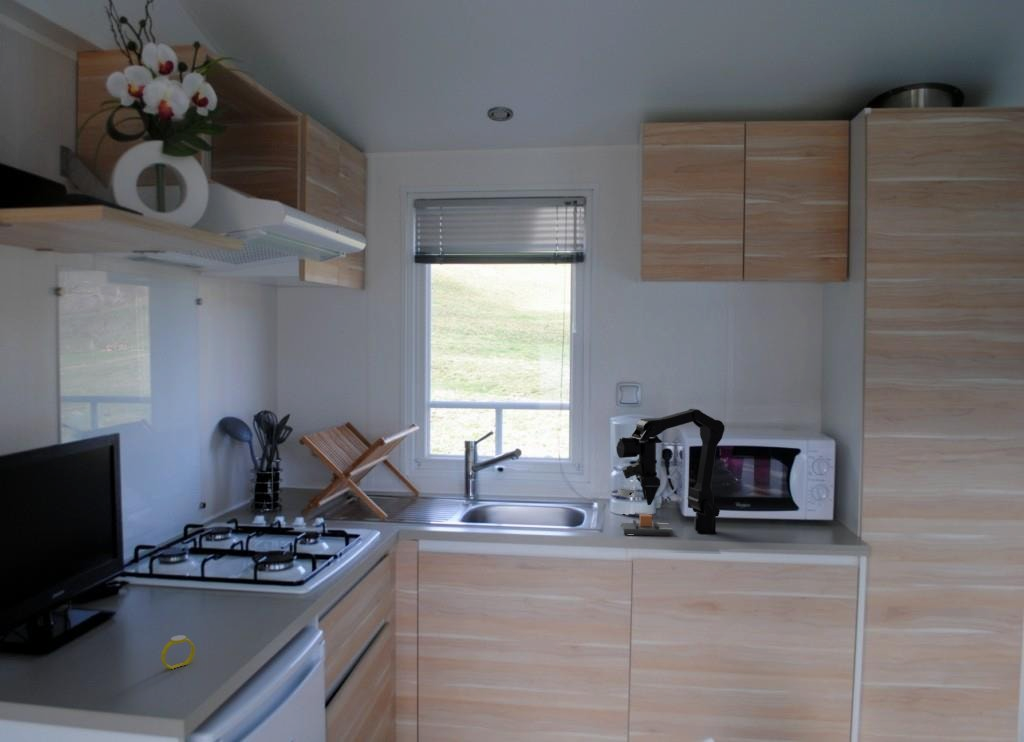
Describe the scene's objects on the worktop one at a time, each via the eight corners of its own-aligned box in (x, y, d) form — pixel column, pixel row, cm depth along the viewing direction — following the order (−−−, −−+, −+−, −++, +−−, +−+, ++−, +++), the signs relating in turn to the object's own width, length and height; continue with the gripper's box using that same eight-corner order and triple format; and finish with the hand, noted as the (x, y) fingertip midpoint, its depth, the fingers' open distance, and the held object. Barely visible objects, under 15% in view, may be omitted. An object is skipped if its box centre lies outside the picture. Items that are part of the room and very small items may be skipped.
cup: (628, 517, 263) (628, 491, 263) (613, 513, 270) (613, 487, 269) (643, 514, 268) (643, 488, 268) (627, 510, 274) (628, 485, 274)
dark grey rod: (669, 535, 238) (669, 531, 238) (670, 536, 236) (670, 532, 236) (623, 534, 238) (623, 531, 238) (624, 535, 237) (624, 532, 237)
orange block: (651, 524, 243) (651, 514, 243) (652, 526, 241) (652, 516, 241) (639, 524, 243) (639, 514, 243) (640, 526, 241) (640, 516, 241)
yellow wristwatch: (190, 661, 141) (192, 632, 141) (195, 666, 139) (197, 636, 139) (159, 668, 137) (161, 638, 137) (163, 673, 135) (165, 642, 135)
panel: (668, 529, 246) (668, 520, 246) (672, 535, 238) (672, 526, 238) (621, 528, 247) (621, 520, 246) (623, 534, 239) (624, 525, 238)
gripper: (621, 452, 245) (621, 495, 246) (625, 460, 226) (626, 508, 227) (653, 452, 244) (653, 496, 245) (660, 460, 226) (660, 508, 226)
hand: (647, 501), depth 236 cm, fingers open, 9 cm apart
